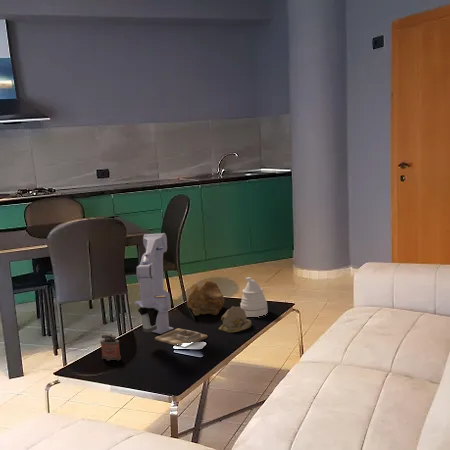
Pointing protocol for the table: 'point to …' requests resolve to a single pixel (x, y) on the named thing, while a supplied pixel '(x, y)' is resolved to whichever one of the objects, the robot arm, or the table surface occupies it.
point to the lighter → (110, 347)
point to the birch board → (181, 337)
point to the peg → (147, 324)
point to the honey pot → (253, 299)
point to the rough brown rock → (205, 298)
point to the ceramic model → (235, 320)
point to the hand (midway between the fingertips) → (150, 324)
